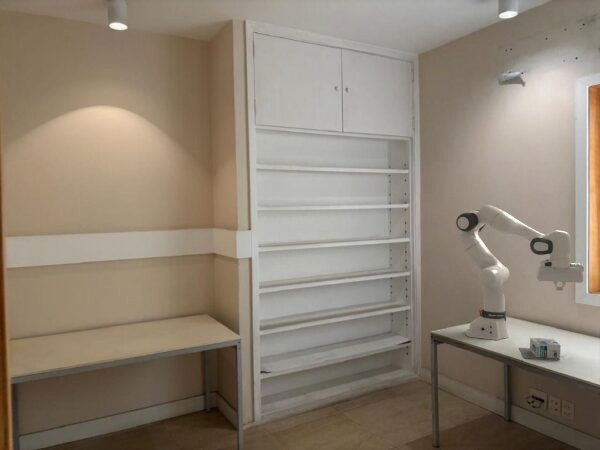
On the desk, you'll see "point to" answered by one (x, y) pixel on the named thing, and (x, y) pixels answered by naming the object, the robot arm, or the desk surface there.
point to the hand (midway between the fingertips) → (559, 290)
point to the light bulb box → (545, 348)
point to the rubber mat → (532, 355)
